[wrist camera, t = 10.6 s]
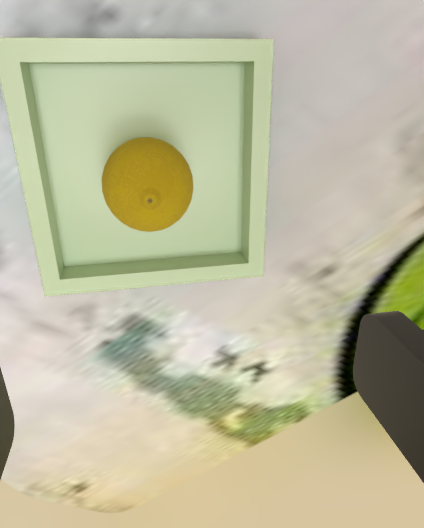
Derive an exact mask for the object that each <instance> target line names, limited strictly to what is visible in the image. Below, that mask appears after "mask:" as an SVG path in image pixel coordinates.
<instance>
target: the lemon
mask: <svg viewBox="0 0 424 528" xmlns="http://www.w3.org/2000/svg"><path fill="white" fill-rule="evenodd" d="M102 192H103V195H104V199H105V202H106V204H107V206H108V207H109V209H110V211H111V212H112V214H113V215H114V216H115V217H116V218H117V219H118V220H119V221H120V222H122V223H123V224H125V225H127V226H128V227H130V228H132V229H136V230H139V231H146V232H154V231H160V230H163V229H166V228H168V227H170V226H172V225H173V224H174V223H176V222H177V221H178V220H180V219H181V217H182V216H183V215H184V214H185V212H186V211H187V209H188V207H189V205H190V202H191V200H192V194H193V176H192V173H191V170H190V167H189V164H188V163H187V161H186V160H185V158H184V157H183V155H182V154H181V153H180V152H179V151H178V150H177V149H176V148H175V147H174V146H172V145H170V144H169V143H167V142H165V141H163V140H160V139H155V138H151V137H146V138H136V139H133V140H129V141H127V142H125V143H124V144H122V145H120V146H119V147H118V148H117V149H116V150H115V151H114V152H113V153H112V154H111V155H110V156H109V158H108V160H107V162H106V164H105V166H104V170H103V174H102Z"/></svg>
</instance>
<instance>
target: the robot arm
mask: <svg viewBox="0 0 424 528" xmlns="http://www.w3.org/2000/svg"><path fill="white" fill-rule="evenodd" d="M353 377H354V382H355V386H356V388H357V391H358V393H359V394H360V396H361V397H362V399H363V400H364V402H365V403H366V404H367V406H368V407H369V408H370V410H371V411H372V413H373V414H374V415H375V417H376V418H377V419H378V421H379V422H380V424H381V425H382V426H383V427H384V429H385V430H386V432H387V433H388V434H389V436H390V437H391V439H392V440H393V441H394V443H395V444H396V445H397V447H398V448H399V450H400V451H401V452H402V454H403V455H404V456H405V458H406V459H407V461H408V462H409V463H410V465H411V466H412V467H413V469H414V470H415V472H416V473H417V474H418V476H419V477H420V478H421V480H422V481H423V482H424V330H422V329H420V328H419V327H418V326H417V325H416V324H415V323H413V322H412V321H411V320H410V319H409V318H408V317H406V316H405V315H404V314H403V313H401V312H399V311H392V312H383V313H374V314H366V315H365V316H363V318H362V320H361V323H360V328H359V334H358V341H357V347H356V353H355V359H354V366H353ZM13 437H14V415H13V411H12V407H11V403H10V400H9V396H8V393H7V389H6V386H5V382H4V379H3V375H2V372H1V368H0V479H1V476H2V473H3V470H4V467H5V464H6V461H7V458H8V455H9V452H10V449H11V446H12V442H13Z"/></svg>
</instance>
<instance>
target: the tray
mask: <svg viewBox="0 0 424 528" xmlns="http://www.w3.org/2000/svg"><path fill="white" fill-rule="evenodd" d="M273 50H274V39H172V38H0V81H1V86H2V91H3V96H4V101H5V105H6V110H7V115H8V120H9V125H10V130H11V135H12V139H13V144H14V149H15V154H16V159H17V164H18V169H19V173H20V178H21V183H22V188H23V193H24V198H25V203H26V207H27V212H28V217H29V222H30V227H31V232H32V237H33V241H34V246H35V251H36V256H37V261H38V266H39V270H40V275H41V280H42V285H43V290H44V295H45V296H56V295H66V294H77V293H88V292H99V291H109V290H120V289H131V288H141V287H152V286H163V285H174V284H184V283H195V282H206V281H216V280H227V279H238V278H249V277H259V276H263V270H264V248H265V226H266V204H267V182H268V160H269V138H270V116H271V94H272V72H273ZM146 137H151V138H155V139H160V140H163V141H165V142H167V143H169V144H170V145H172V146H174V147H175V148H176V149H177V150H178V151H179V152H180V153H181V154H182V155H183V157H184V158H185V160H186V161H187V163H188V164H189V167H190V170H191V173H192V176H193V194H192V200H191V202H190V205H189V207H188V209H187V211H186V212H185V214H184V215H183V216H182V217H181V219H180V220H178V221H177V222H176V223H174V224H173V225H172V226H170V227H168V228H166V229H163V230H160V231H154V232H146V231H139V230H136V229H132V228H130V227H128V226H127V225H125V224H123V223H122V222H120V221H119V220H118V219H117V218H116V217H115V216H114V215H113V214H112V212H111V211H110V209H109V207H108V206H107V204H106V202H105V199H104V195H103V192H102V174H103V170H104V166H105V164H106V162H107V160H108V158H109V156H110V155H111V154H112V153H113V152H114V151H115V150H116V149H117V148H118V147H119V146H120V145H122V144H124V143H125V142H127V141H129V140H133V139H136V138H146Z"/></svg>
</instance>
